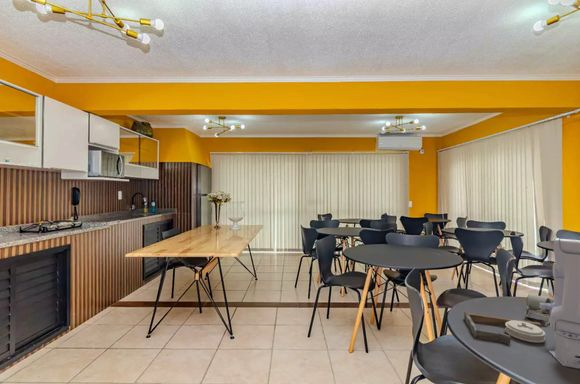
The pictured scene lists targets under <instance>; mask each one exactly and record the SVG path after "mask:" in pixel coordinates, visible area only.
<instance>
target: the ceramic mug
mask: <svg viewBox="0 0 580 384" xmlns="http://www.w3.org/2000/svg"><path fill="white" fill-rule="evenodd" d="M525 303H526V307H527V308H526V310H527V309H528V308H529V309H531V310H533V311H535V312H539V313H543V314H550V313H551V310H549V309H541V308H540V307H539V305H540V303H552V300H551V298H550V297H547V296H542V295H537V294H528V295H527V297H526V300H525Z"/></svg>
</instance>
